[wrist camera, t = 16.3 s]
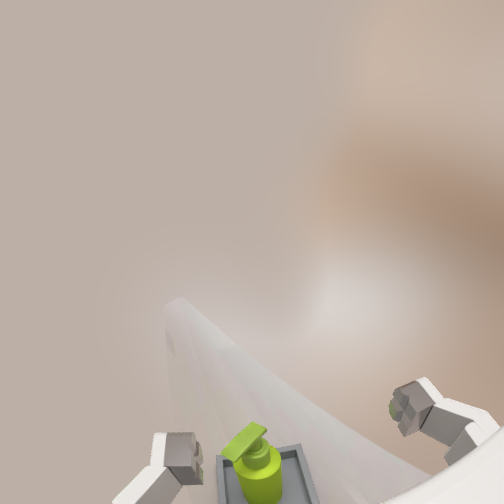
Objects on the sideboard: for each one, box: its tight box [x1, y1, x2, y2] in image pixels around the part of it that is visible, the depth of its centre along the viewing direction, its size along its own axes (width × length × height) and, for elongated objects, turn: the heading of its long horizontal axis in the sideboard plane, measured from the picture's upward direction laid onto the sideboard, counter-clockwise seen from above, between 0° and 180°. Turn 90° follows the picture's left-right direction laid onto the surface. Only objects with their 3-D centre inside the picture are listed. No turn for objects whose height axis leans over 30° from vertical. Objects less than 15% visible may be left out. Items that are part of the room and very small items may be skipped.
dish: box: [216, 444, 320, 504], centre depth 31 cm, size 14×14×4 cm
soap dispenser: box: [220, 421, 282, 504], centre depth 27 cm, size 6×7×20 cm
